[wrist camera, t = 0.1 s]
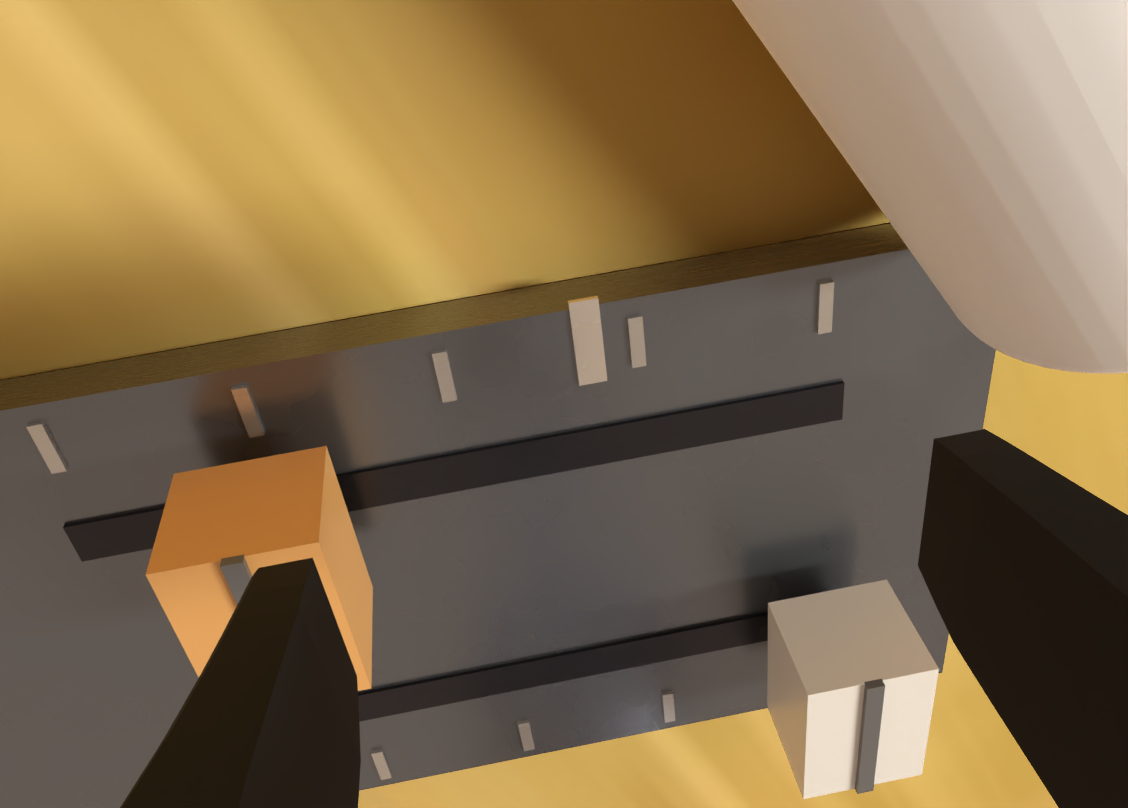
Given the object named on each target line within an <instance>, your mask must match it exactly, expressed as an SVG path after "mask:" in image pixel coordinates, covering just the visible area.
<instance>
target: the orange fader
mask: <svg viewBox="0 0 1128 808" xmlns="http://www.w3.org/2000/svg"><path fill="white" fill-rule="evenodd" d="M308 558H313V560H314V562H315V565H316V568H317V570H318V573H319V576H320V578H321V581H322V584H323V587H324V589H325V592H326V595H327V597H328V600H329V603H330V605H331V608H332V611H333V613H334V616H335V619H336V621H337V624H338V627H339V629H340V632H341V635H342V637H343V640H344V643H345V645H346V648H347V651H348V653H349V656H350V659H351V661H352V664H353V667H354V669H355V672H356V675H357V684H358V691H361V690H366V689H371V682H372V611H373V586H372V583H371V580H370V577H369V574H368V571H367V568H366V565H365V562H364V559H363V556H362V553H361V550H360V547H359V544H358V540H357V537H356V534H355V531H354V528H353V525H352V522H351V519H350V516H349V513H348V510H347V507H346V504H345V501H344V498H343V495H342V492H341V489H340V486H339V483H338V480H337V477H336V474H335V471H334V467H333V464H332V461H331V458H330V455H329V452H328V449H327V446H323V447H317V448H312V449H306V450H301V451H295V452H290V453H285V454H279V455H274V456H268V457H263V458H257V459H252V460H246V461H241V462H235V463H230V464H225V465H219V466H214V467H208V468H203V469H197V470H192V471H186V472H181V473H175V474H174V475H173V478H172V482H171V486H170V489H169V493H168V496H167V500H166V504H165V507H164V511H163V514H162V518H161V521H160V525H159V529H158V532H157V536H156V539H155V543H154V546H153V550H152V554H151V557H150V561H149V564H148V568H147V571H146V577H147V579H148V581H149V582H150V584H151V586H152V588H153V590H154V592H155V594H156V596H157V598H158V600H159V602H160V604H161V606H162V608H163V610H164V612H165V613H166V615H167V617H168V619H169V621H170V623H171V625H172V627H173V629H174V631H175V633H176V635H177V637H178V639H179V641H180V643H181V644H182V646H183V648H184V650H185V652H186V654H187V656H188V658H189V660H190V662H191V664H192V666H193V668H194V670H195V672H196V674H197V675H198V677H199V676H200V675H201V673H202V671H203V669H204V667H205V665H206V664H207V662H208V660H209V658H210V656H211V654H212V652H213V651H214V649H215V647H216V645H217V643H218V641H219V639H220V637H221V636H222V634H223V632H224V630H225V628H226V626H227V624H228V622H229V620H230V618H231V616H232V614H233V612H234V610H235V608H236V607H237V605H238V603H239V601H240V599H241V597H242V595H243V593H244V591H245V589H246V587H247V585H248V583H249V581H250V579H251V577H252V576H253V574H254V573H255V572H256V571H257V569H258V568H261V567H266V566H271V565H276V564H282V563H287V562H292V561H297V560H302V559H308Z"/></svg>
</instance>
